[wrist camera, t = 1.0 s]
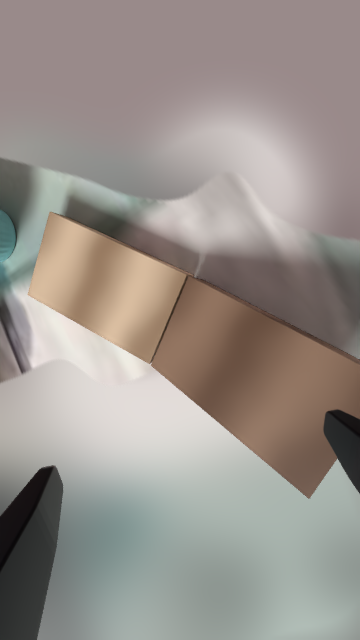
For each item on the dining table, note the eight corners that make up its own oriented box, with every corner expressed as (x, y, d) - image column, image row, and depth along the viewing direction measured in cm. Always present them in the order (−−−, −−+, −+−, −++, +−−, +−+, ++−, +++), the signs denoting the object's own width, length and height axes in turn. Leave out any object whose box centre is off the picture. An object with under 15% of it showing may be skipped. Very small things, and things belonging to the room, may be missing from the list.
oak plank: (194, 275, 20) (186, 274, 19) (158, 357, 22) (149, 363, 20) (66, 216, 23) (49, 211, 21) (44, 293, 25) (27, 294, 23)
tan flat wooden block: (390, 375, 13) (390, 381, 12) (316, 482, 15) (309, 498, 14) (203, 279, 20) (188, 276, 18) (166, 363, 22) (151, 365, 20)
